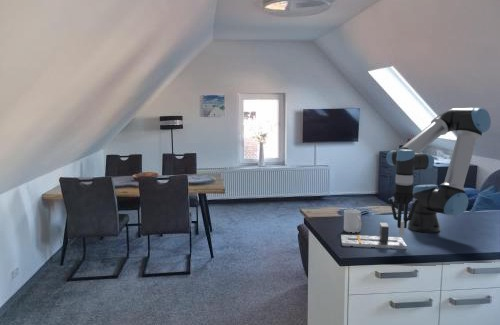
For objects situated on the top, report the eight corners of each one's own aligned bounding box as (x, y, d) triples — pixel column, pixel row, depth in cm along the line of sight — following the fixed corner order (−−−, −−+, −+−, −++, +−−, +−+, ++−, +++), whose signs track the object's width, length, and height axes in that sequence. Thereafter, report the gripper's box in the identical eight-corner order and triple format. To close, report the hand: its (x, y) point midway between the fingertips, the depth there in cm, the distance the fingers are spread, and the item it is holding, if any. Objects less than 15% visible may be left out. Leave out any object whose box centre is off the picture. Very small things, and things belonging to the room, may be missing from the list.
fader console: (401, 240, 197) (401, 236, 197) (406, 249, 184) (406, 245, 184) (340, 237, 202) (340, 234, 202) (342, 246, 189) (342, 242, 189)
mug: (367, 234, 207) (368, 214, 206) (353, 235, 205) (353, 215, 204) (354, 227, 219) (355, 208, 218) (340, 229, 216) (341, 209, 215)
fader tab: (386, 237, 195) (386, 222, 194) (388, 241, 189) (388, 226, 188) (379, 237, 195) (379, 222, 194) (381, 241, 189) (381, 226, 188)
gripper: (417, 183, 190) (414, 233, 193) (387, 182, 192) (385, 231, 195) (421, 185, 183) (418, 238, 185) (390, 184, 185) (387, 236, 188)
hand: (401, 234), depth 190 cm, fingers closed
